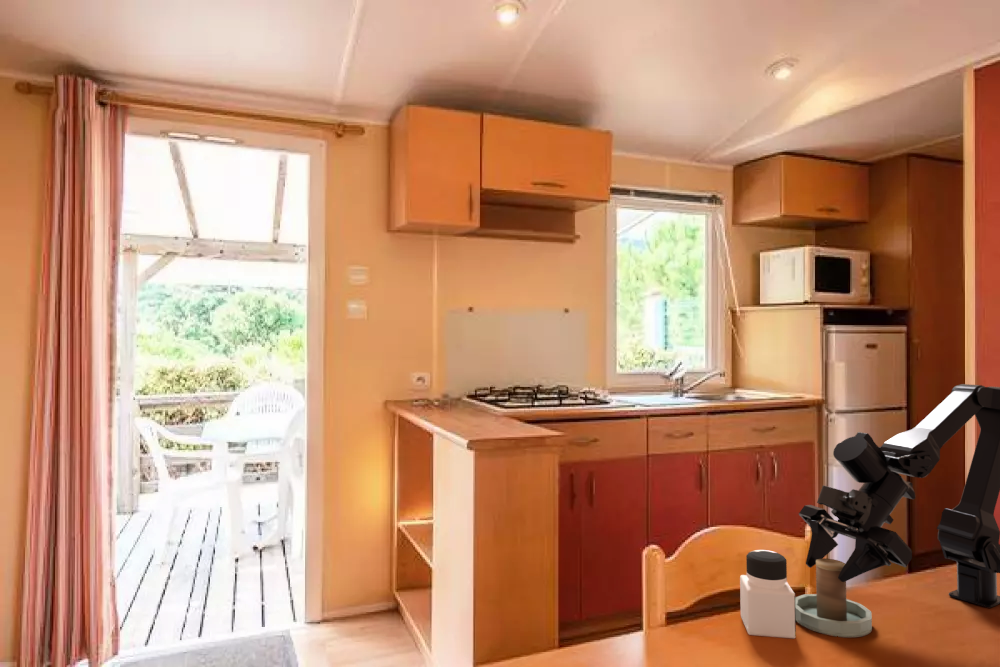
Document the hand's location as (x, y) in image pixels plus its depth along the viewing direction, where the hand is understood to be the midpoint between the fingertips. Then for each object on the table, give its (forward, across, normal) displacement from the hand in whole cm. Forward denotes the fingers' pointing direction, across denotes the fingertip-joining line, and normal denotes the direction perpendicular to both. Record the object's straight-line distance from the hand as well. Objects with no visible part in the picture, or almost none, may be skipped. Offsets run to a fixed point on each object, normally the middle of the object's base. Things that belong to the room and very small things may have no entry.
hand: (823, 572), depth 104 cm
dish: (+5, 0, +7) cm, 8 cm away
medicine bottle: (+13, -1, -1) cm, 13 cm away
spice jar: (+4, 0, +6) cm, 8 cm away
